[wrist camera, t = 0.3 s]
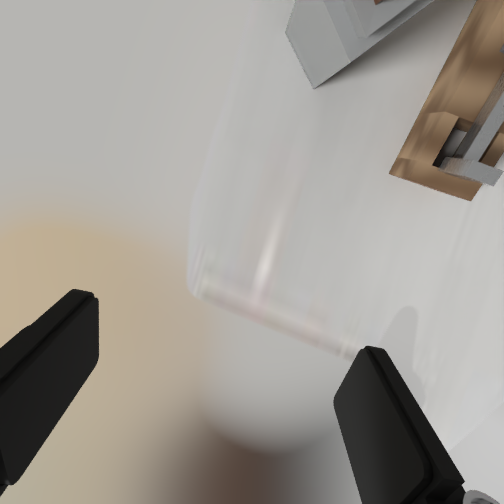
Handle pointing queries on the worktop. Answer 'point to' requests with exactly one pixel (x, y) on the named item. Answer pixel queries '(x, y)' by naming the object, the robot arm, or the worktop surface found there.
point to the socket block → (458, 103)
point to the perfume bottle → (342, 30)
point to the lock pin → (479, 142)
